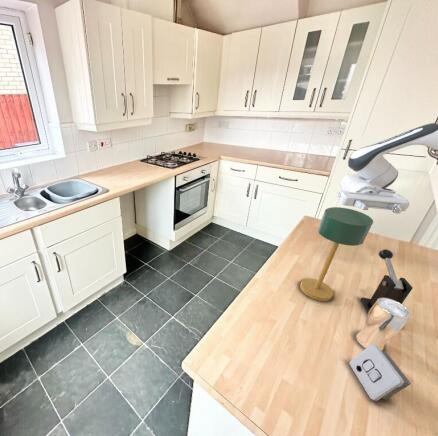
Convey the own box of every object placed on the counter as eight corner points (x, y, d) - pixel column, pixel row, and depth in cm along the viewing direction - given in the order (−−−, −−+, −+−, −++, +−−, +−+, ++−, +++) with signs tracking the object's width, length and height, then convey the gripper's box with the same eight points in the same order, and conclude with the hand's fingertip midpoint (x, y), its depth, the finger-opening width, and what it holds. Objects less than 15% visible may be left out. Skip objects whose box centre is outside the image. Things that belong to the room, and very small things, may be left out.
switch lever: (375, 251, 83) (381, 246, 81) (387, 253, 83) (393, 248, 80) (386, 290, 76) (393, 286, 73) (400, 292, 75) (407, 288, 72)
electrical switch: (347, 362, 66) (365, 342, 62) (367, 365, 66) (386, 345, 61) (371, 401, 58) (393, 381, 53) (393, 405, 58) (418, 385, 53)
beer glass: (361, 351, 69) (385, 315, 62) (349, 330, 75) (370, 295, 68) (390, 356, 67) (418, 320, 60) (376, 334, 73) (400, 299, 66)
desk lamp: (342, 296, 87) (382, 219, 72) (321, 308, 82) (358, 229, 67) (310, 275, 96) (339, 204, 81) (289, 285, 92) (316, 211, 77)
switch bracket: (360, 299, 85) (377, 269, 79) (384, 304, 83) (404, 273, 77) (372, 320, 78) (392, 289, 71) (399, 326, 76) (422, 294, 69)
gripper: (337, 185, 98) (350, 198, 87) (399, 190, 93) (422, 205, 81) (331, 199, 102) (344, 214, 90) (391, 205, 96) (412, 221, 84)
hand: (381, 209), depth 86 cm, fingers open, 8 cm apart
